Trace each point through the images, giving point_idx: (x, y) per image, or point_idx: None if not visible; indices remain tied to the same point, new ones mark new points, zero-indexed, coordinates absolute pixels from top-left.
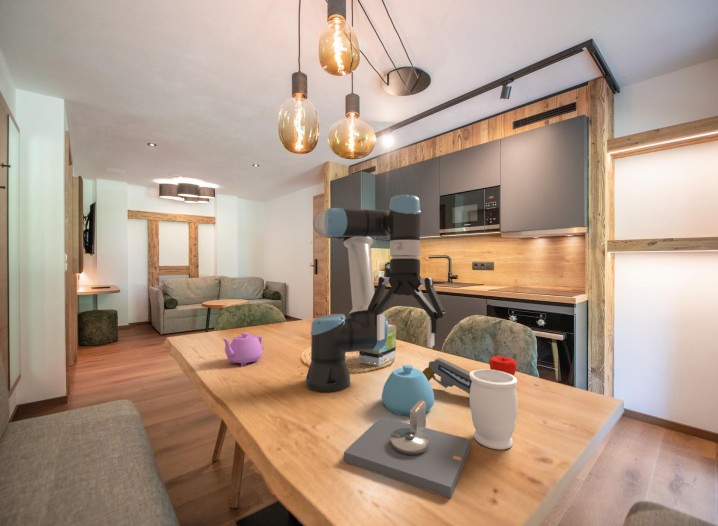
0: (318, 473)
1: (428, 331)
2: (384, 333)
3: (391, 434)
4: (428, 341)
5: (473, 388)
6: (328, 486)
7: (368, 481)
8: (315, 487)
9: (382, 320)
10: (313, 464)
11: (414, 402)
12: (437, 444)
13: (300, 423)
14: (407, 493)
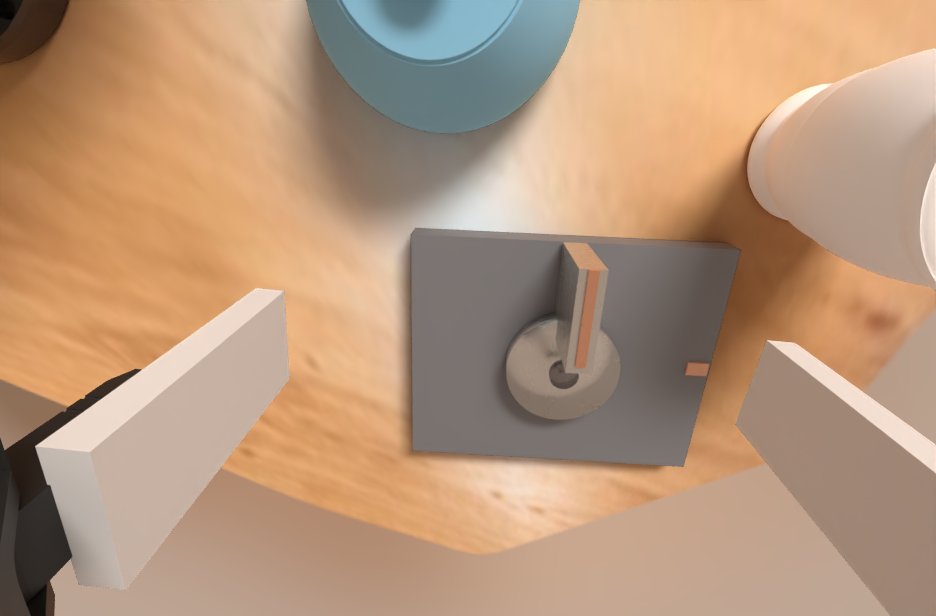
0: (390, 484)
1: (834, 532)
2: (261, 311)
3: (507, 379)
4: (771, 457)
5: (882, 242)
6: (432, 505)
7: (498, 467)
8: (411, 515)
9: (173, 445)
10: (361, 466)
11: (512, 107)
12: (637, 323)
13: (187, 334)
14: (585, 467)
